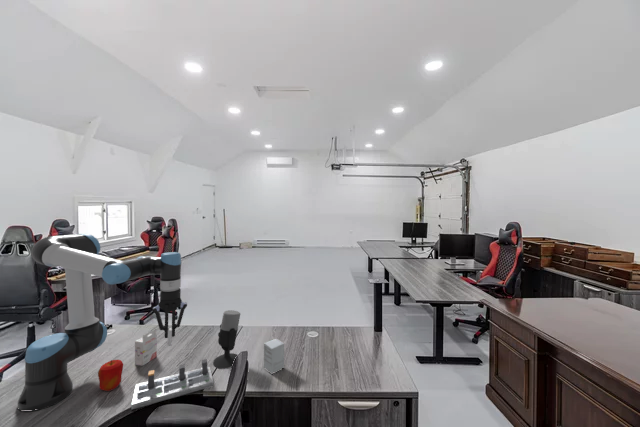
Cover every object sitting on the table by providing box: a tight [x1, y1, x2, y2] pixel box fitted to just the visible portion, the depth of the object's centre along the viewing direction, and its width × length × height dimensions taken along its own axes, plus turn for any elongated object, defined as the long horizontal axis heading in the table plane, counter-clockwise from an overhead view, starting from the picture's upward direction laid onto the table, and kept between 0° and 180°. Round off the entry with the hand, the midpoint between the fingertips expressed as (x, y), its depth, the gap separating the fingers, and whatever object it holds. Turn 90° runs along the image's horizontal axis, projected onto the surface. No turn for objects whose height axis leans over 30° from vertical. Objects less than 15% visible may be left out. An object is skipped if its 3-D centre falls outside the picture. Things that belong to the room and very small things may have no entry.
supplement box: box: [263, 338, 285, 373], centre depth 126 cm, size 7×7×13 cm
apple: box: [97, 359, 124, 392], centre depth 110 cm, size 9×8×12 cm
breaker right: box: [200, 358, 208, 375], centre depth 116 cm, size 3×3×6 cm
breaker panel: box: [130, 365, 214, 410], centre depth 111 cm, size 29×13×4 cm, turn 119°
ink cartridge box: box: [134, 328, 158, 367], centre depth 130 cm, size 9×5×15 cm, turn 168°
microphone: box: [212, 310, 241, 370], centre depth 131 cm, size 13×13×25 cm
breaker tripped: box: [147, 369, 156, 389], centre depth 107 cm, size 3×3×7 cm
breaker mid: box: [178, 363, 186, 381], centre depth 112 cm, size 3×3×6 cm
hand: (169, 344), depth 110 cm, fingers closed
